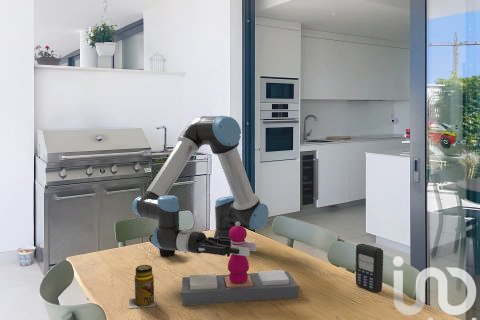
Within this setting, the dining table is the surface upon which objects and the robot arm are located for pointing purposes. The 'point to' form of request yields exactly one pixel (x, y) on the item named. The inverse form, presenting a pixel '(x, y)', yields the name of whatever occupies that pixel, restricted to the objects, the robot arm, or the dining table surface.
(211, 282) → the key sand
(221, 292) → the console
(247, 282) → the key terracotta
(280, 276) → the key grey
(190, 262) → the dining table surface
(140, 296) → the condiment
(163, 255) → the coffee mug
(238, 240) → the pepper mill
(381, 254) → the card reader
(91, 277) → the dining table surface
